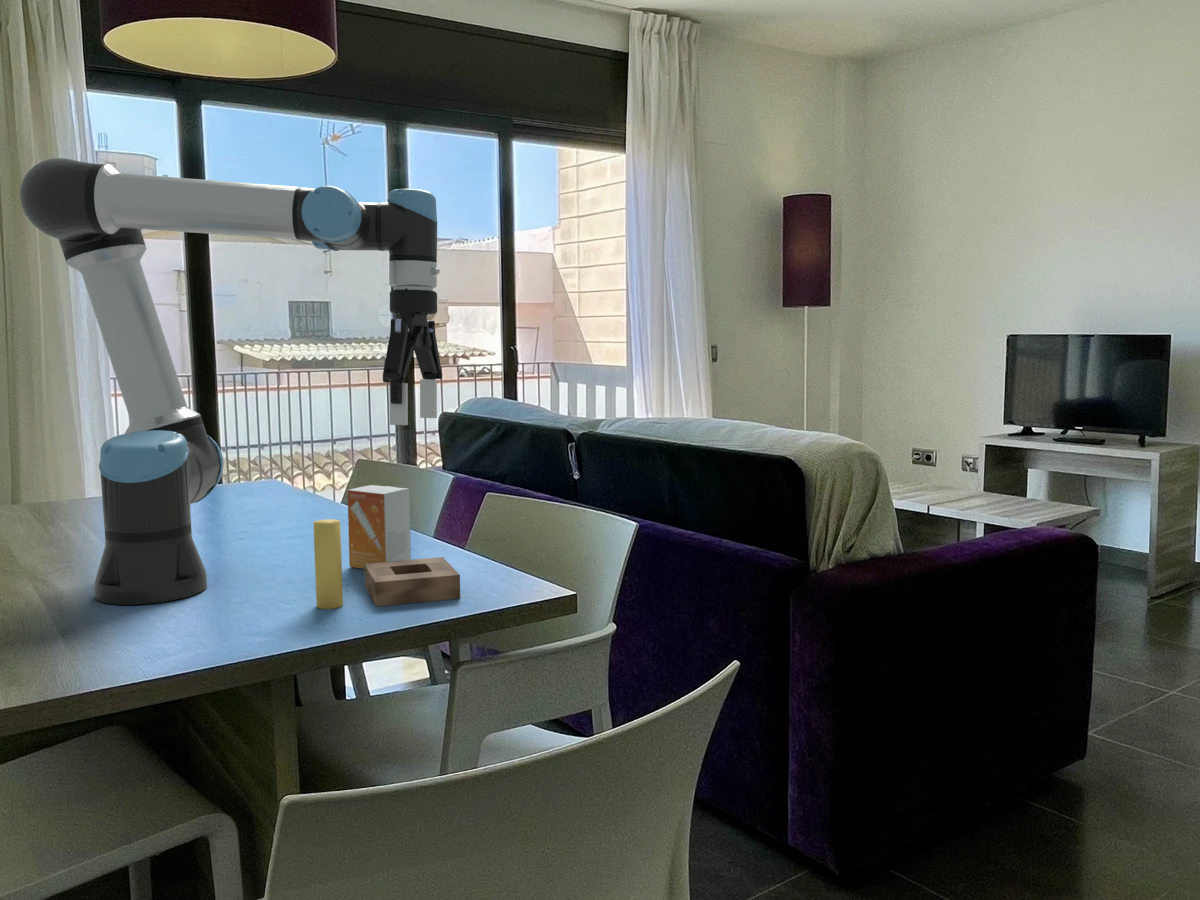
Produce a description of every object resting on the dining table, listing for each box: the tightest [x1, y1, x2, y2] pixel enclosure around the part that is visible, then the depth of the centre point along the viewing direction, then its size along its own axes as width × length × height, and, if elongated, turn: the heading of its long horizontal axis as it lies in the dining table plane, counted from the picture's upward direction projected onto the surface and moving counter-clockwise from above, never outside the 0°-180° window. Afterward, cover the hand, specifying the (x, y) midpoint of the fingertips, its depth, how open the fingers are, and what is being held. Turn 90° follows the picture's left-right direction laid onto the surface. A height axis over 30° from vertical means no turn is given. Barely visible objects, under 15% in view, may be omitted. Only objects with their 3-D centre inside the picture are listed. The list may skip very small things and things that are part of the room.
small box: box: [347, 484, 412, 570], centre depth 159 cm, size 8×6×13 cm
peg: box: [313, 518, 344, 610], centre depth 136 cm, size 4×4×12 cm
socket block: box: [364, 556, 461, 607], centre depth 144 cm, size 12×12×4 cm
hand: (414, 421), depth 158 cm, fingers open, 13 cm apart
